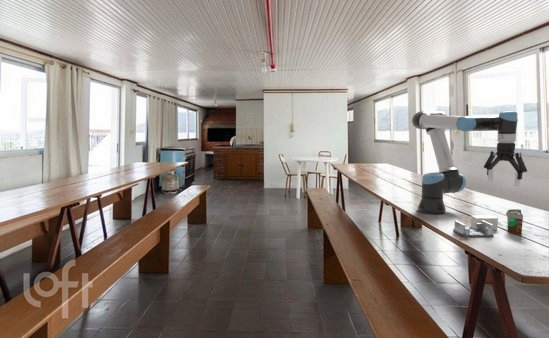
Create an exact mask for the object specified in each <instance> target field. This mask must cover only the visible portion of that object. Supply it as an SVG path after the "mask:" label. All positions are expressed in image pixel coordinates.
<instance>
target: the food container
mask: <svg viewBox="0 0 549 338" xmlns="http://www.w3.org/2000/svg"><path fill="white" fill-rule="evenodd" d="M505 216H506V217H507V220H506V221H507V232H508V233H510V234H513V235H518V236H522V231H523V223H524V222H523V221H524V214H522V209H518V208H517V209H516V208H515V209H507V211H506V213H505Z"/></svg>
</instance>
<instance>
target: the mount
mask: <svg viewBox="0 0 549 338" xmlns="http://www.w3.org/2000/svg"><path fill="white" fill-rule="evenodd" d="M452 231H453V232H454V233H456V235H457V234H458V235H459V236H461V237H463V238H494V235H495V234H493V232H494V230H493V224H490V223H488V222H486V221H483V220H481V223H476V229H474V228H471V227H466V224H464V223H462V222H460V221H458V220H454V228H453V229H452Z"/></svg>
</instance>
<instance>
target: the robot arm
mask: <svg viewBox="0 0 549 338" xmlns="http://www.w3.org/2000/svg"><path fill="white" fill-rule="evenodd" d="M518 121H519V120H518V112H517V111H513V110H512V111H501V112H499V115H497V116H496V115H495V116H471V115H467V116H465V115H464V116H463V115H447V114H446V112H444V111H439V110H432V111H431V110H430V111H429V110H421V111H417V112H416V113H414V114H413V117H412V118H411V122H412V126H413V127H414V128H415V129H418V130H425V133H426V135H428V136H429V137H430V140H431V145H432V148H433V151H434V156H435V159H436V163H437V167H438V172H426V173H425V174H423V175H422V178H421V179H422V180H421V199H420V202H419V203H418V206H417V211H418V212H420V213H423V214H430V215H443V214H444V215H445V214H446V211H447V209H446V205H445V202H444V194H456V193H460V192H462V191H463V190H465V187H466V184H467V179H466V177H465V175H463V174H462V173H460V171H459V169H458V168H456V167H455V164H454V160H453V157H452V152H451V149H450V147H449V143H448V139H447V135H446V133H445V131H446V130H455V131H460V132H488V131H489V132H491V131H495V132H497V139H496V140H497V143H496V150H493V151H492V150H491V151H490V152H489V153H490V154H489V157H487V160H486V161H485V163H484V165H483V168H484V169H486V170H487V171H486V175H487V182H488V183H493V182H494V170H495V169H494V168H495V167H496V166H497V164H498V163H500V162H502V161H504V162H509V163H510V165H511V166H512V167H513V169H514V170H515V171H516V172H515V173H514V184H513V185H514V187H520V185H521V180H522V179H523V173H527V172H528V169H527V167H526V164H525V161H524V160H523V158H522V153H521V152H515V151H516V143H515V142H517V140H516V139H517V127H518Z"/></svg>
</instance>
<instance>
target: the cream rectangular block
mask: <svg viewBox="0 0 549 338" xmlns="http://www.w3.org/2000/svg"><path fill="white" fill-rule="evenodd" d="M481 220H483V221H486V222H488V223H490V224H493V231H497V230H498V227H499V226H498V225H499V224H498V221H499V217H496V216H494V215H470V228H471V229H476V223H481Z"/></svg>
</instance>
